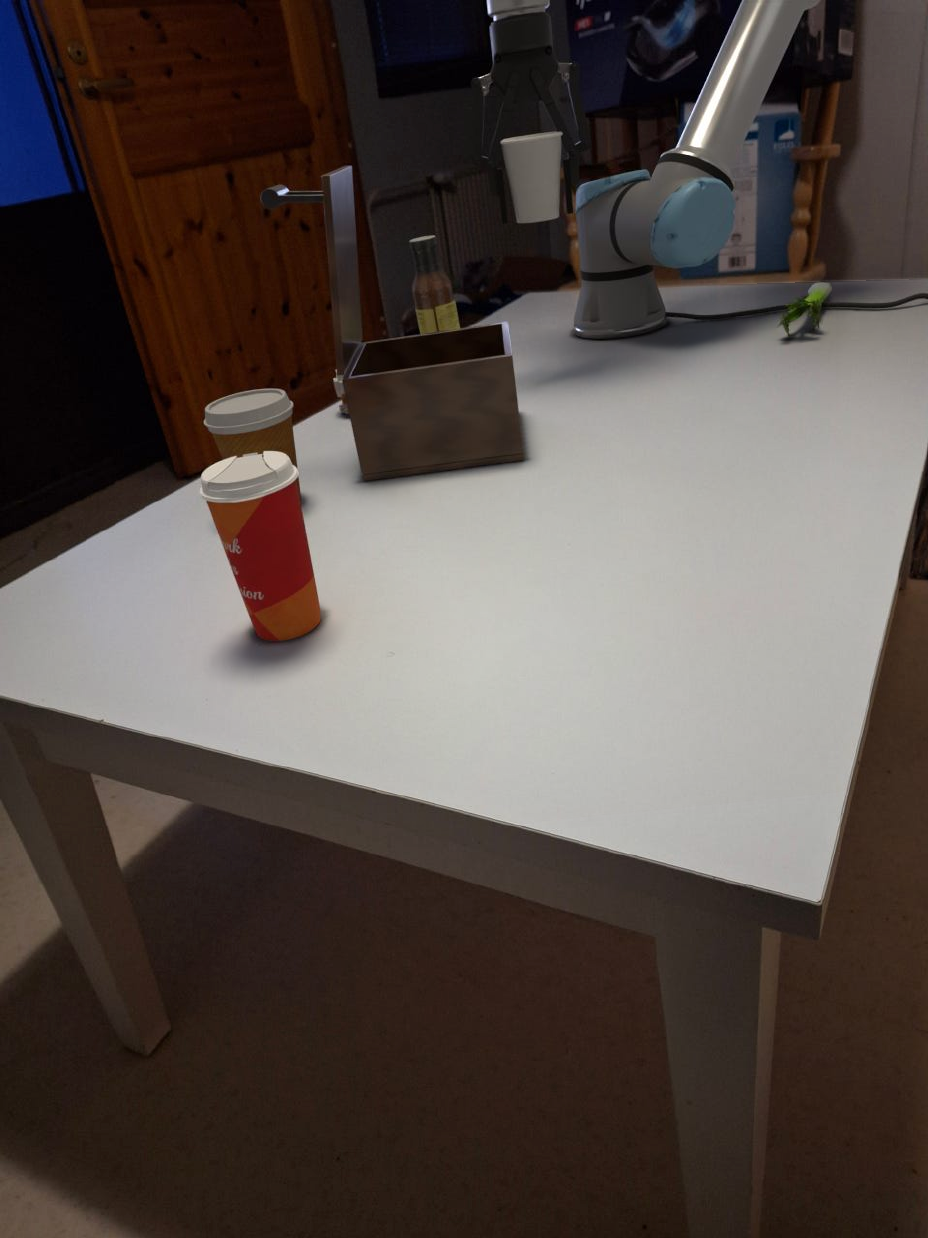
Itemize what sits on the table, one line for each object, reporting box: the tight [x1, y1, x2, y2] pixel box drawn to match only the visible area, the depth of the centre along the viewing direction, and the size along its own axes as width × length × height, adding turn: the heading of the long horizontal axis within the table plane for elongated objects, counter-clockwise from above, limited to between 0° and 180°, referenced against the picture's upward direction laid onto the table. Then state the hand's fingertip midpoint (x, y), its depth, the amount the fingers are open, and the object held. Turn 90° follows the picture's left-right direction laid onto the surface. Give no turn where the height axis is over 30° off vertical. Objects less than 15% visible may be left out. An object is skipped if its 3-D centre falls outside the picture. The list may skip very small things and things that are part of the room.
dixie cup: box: [500, 130, 563, 224], centre depth 118 cm, size 8×8×10 cm
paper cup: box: [198, 451, 322, 642], centre depth 72 cm, size 8×8×14 cm
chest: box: [342, 321, 525, 482], centre depth 107 cm, size 19×18×12 cm
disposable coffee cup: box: [203, 388, 302, 503], centre depth 97 cm, size 10×10×12 cm
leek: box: [776, 281, 833, 337], centre depth 137 cm, size 6×7×30 cm
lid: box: [260, 165, 363, 375], centre depth 100 cm, size 19×18×8 cm
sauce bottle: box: [408, 234, 461, 334], centre depth 136 cm, size 7×6×20 cm
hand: (537, 217), depth 120 cm, fingers closed on dixie cup, 8 cm apart
